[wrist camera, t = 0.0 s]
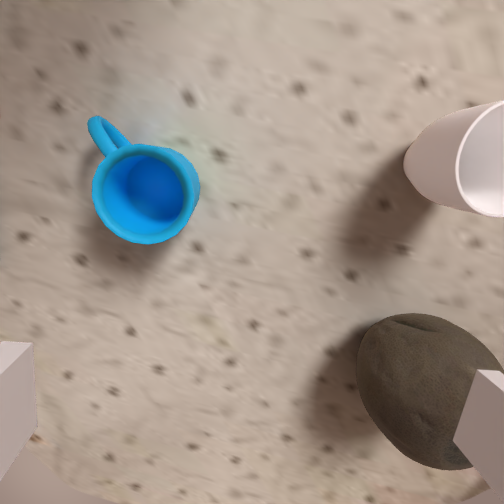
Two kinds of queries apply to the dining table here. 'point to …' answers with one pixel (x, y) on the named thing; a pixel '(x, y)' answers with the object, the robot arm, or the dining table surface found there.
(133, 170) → the mug
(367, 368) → the dark grey round stone
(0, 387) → the robot arm
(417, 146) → the mug
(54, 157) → the dining table surface
